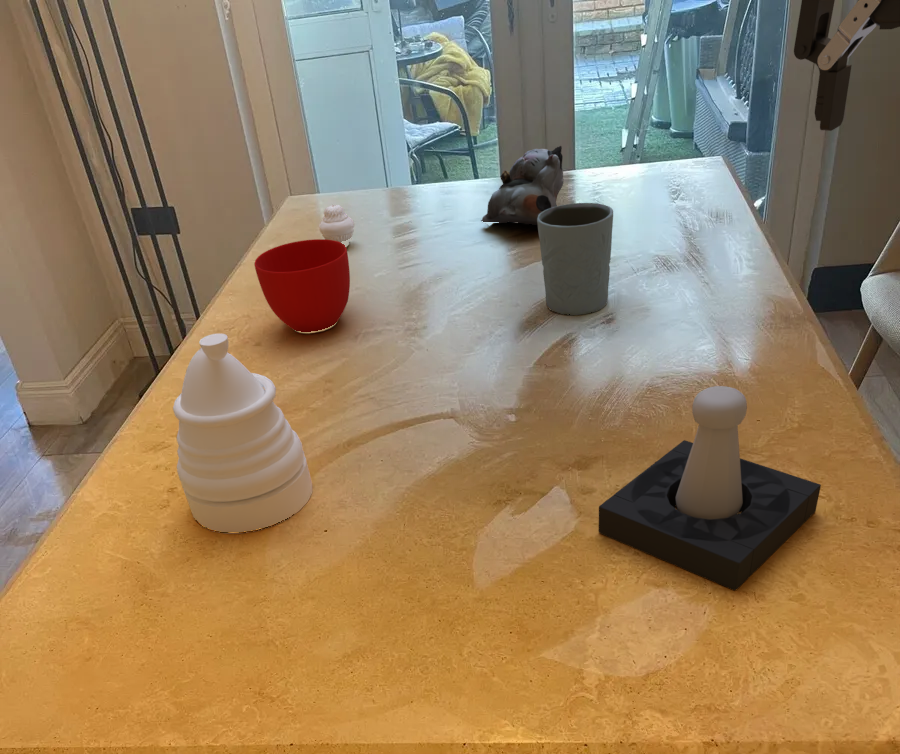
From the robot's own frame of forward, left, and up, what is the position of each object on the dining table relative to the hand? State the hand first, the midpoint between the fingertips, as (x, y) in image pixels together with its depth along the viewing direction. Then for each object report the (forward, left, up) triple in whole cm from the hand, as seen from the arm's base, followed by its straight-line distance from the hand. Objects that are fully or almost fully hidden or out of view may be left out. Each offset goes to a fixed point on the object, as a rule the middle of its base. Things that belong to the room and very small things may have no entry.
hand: (890, 131), depth 58 cm
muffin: (-27, -100, -31) cm, 108 cm away
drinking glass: (-27, -48, -31) cm, 63 cm away
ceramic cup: (-4, -77, -31) cm, 83 cm away
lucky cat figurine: (-50, -77, -31) cm, 97 cm away
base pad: (+8, -6, -31) cm, 33 cm away
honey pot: (+31, -46, -31) cm, 64 cm away
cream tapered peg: (+8, -6, -31) cm, 33 cm away
